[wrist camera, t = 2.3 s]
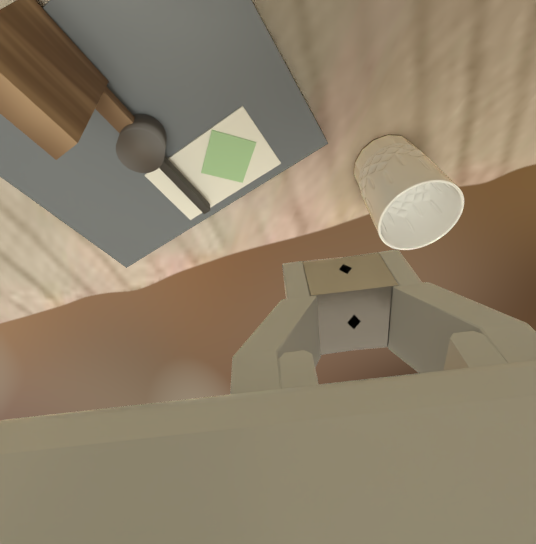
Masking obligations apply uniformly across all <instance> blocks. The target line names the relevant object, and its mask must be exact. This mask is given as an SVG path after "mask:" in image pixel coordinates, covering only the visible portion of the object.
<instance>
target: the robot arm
mask: <svg viewBox="0 0 536 544" xmlns="http://www.w3.org/2000/svg"><path fill="white" fill-rule="evenodd" d="M282 266H283V276H284V285H285V294H286V299H283V300H281V301H280V302H279V303H278V305H277V306H276V307H275V308H274V309H273V310H272V312H271V313H270V314H269V315H268V316H267V317H266V319H265V320H264V321H263V322H262V323H261V324H260V326H259V327H258V328H257V329H256V330H255V331H254V333H253V334H252V335H251V336H250V337H249V338H248V340H247V341H246V342H245V343H244V344H243V346H242V347H241V348H240V349H239V350H238V351H237V352H236V354H235V355H234V356H233V361H232V376H231V391H230V395H222V396H212V397H203V398H194V399H185V400H177V401H168V402H159V403H150V404H141V405H133V406H123V407H114V408H105V409H96V410H88V411H78V412H70V413H61V414H52V415H43V416H34V417H25V418H16V419H7V420H0V544H536V332H535V331H534V330H533V329H532V328H531V327H530V326H529V324H527V323H525V322H523V321H520V320H518V319H516V318H513V317H511V316H508V315H506V314H503V313H501V312H499V311H496V310H494V309H491V308H489V307H487V306H484V305H482V304H480V303H477V302H475V301H472V300H470V299H468V298H465V297H463V296H460V295H458V294H455V293H453V292H451V291H448V290H446V289H443V288H441V287H439V286H436V285H434V284H432V283H429V282H425V283H422V282H421V280H420V279H419V277H418V276H417V275H416V273H415V272H414V271H413V269H412V268H411V266H410V265H409V264H408V262H407V261H406V260H405V258H404V257H403V255H402V254H401V253H400V251H398V250H390V251H384V252H378V253H371V254H364V255H357V256H351V257H343V258H331V259H321V260H311V261H302V262H301V261H299V262H292V263H285V264H283V265H282ZM383 347H388V349H389V350H391V351H392V352H393V353H394V354H396V355H397V356H398V357H399V358H401V359H402V360H403V361H405V362H406V363H407V364H408V365H410V366H411V367H412V368H413V369H415V370H416V371H417V372H418V374H409V375H400V376H391V377H382V378H373V379H364V380H355V381H346V382H337V383H328V384H318V380H317V375H316V370H315V367H316V365H317V363H318V361H319V359H320V357H321V356H320V355H323V354H329V353H337V352H343V351H351V350H361V349H371V348H383Z"/></svg>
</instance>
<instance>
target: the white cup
mask: <svg viewBox="0 0 536 544" xmlns="http://www.w3.org/2000/svg"><path fill="white" fill-rule="evenodd" d="M354 176H355V178H356V180H357V183H358V185H359V187H360V191H361V195H362V197H363V200H364V203H365V205H366V207H367V209H368V212H369V214H370V216H371V218H372V220H373V223H374V225H375V227H376V230H377V232H378V234H379V236H380V238H381V240H382V241H383V242H384V243H385V244H386V245H387V246H389V247H391V248H394V249H398V250H412V249H417V248H421V247H424V246H426V245H429V244H431V243H433V242H435V241H436V240H438V239H440V238H441V237H442V236H443V235H445V234H446V233H447V232H448V231H450V230H451V228H452V227H453V226H454V225H455V224H456V222H457V221H458V219H459V218H460V216H461V214H462V211H463V208H464V196H463V193H462V191H461V190H460V188H459V187H458V186H457V185H456V184H455V183H454V182H453V181H452V180H451V179H450V178H449V177H448V176H447V175H445V174H444V173H443V172H442V171H441V170H440V169H439V168H438V167H437V166H436V165H435V164H434V163H433V162H432V161H431V160H430V159H429V158H428V157H427V156H426V155H425V154H424V153H423V152H421V151H420V150H419V149H417V148H416V147H415V146H414V145H413V144H412V143H411V142H409V141H408V140H407V139H405V138H404V137H402V136H396V135H386V136H384V137H381V138H378V139H375V140H373V141H372V142H371V143H370V144H369V145H367V146H366V147H365V148H364V149H363V150H362V151H361V153H360V155H359V156H358V158H357V160H356V162H355V169H354Z"/></svg>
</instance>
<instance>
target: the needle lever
mask: <svg viewBox="0 0 536 544" xmlns="http://www.w3.org/2000/svg"><path fill="white" fill-rule="evenodd" d="M108 82H109V81H108V80H107V79H106V78H105V77H104V76H103V75H102V74H101V72H100V71H99V70H98V69H97V68H96V67H95V66H94V65H93V64H92V62H91V61H90V60H89V59H88V58H87V57H86V56H85V55H84V54H83V53H82V51H81V50H80V49H79V48H78V47H77V46H76V45H75V44H74V43H73V42H72V40H71V39H70V38H69V37H68V36H67V35H66V34H65V33H64V32H63V31H62V29H61V28H60V27H59V26H58V25H57V24H56V23H55V22H54V21H53V19H52V18H51V17H50V16H49V15H48V14H47V13H46V12H45V11H44V10H43V8H42V7H41V6H40V5H39V4H38V3H37V2H36V1H35V0H17V1H15V2H13V3H11V4H10V5H8V6H6V7H4V8H2V9H1V10H0V114H1V115H3V116H4V117H5V118H6V119H7V120H9V121H10V122H11V123H12V124H13V125H15V126H16V127H17V128H18V129H19V130H21V131H22V132H23V133H24V134H25V135H27V136H28V137H29V138H30V139H31V140H33V141H34V142H35V143H36V144H37V145H39V146H40V147H41V148H42V149H43V150H45V151H46V152H47V153H48V154H49V155H51V156H52V157H53V158H54V159H55V160H57V159H58V158H60V157H61V156H62V155H63V154H65V153H66V152H67V151H68V150H70V149H71V148H72V147H73V146H75V145H76V144H77V143H78V142H79V140H80V138H81V136H82V134H83V132H84V130H85V128H86V126H87V124H88V122H89V120H90V118H91V116H92V114H93V112H94V110H95V109H96V110H97V111H98V112H99V113H100V114H101V115H102V116H103V117H104V118H105V119H106V120H107V121H108V122H109V123H110V124H111V125H112V126H113V127H114V128H115V129H116V130H117V131H118V132H119V133H120V134H119V137H118V140H117V143H116V153H117V156H118V158H119V160H120V161H121V162H122V164H123V165H125V166H126V167H127V168H128V169H130V170H132V171H135V172H138V173H150V172H153V171H155V170H157V169H158V168H160V169H161V171H162V172H163V173H164V174H165V175H166V176H167V177H168V178H169V179H170V180H171V181H172V182H173V183H174V184H175V185H176V186H177V187H178V188H179V189H180V190H181V191H182V192H183V193H184V194H185V195H186V196H187V197H188V198H189V199H190V200H191V201H192V202H193V203H194V204H195V205H196V206H197V207H198V208H199V209H200V211H201V212H202V213H203V214H206V213H207V212H209V211H210V203H209V202H208V201H207V200H206V199H205V198H204V197H203V196H202V195H201V194H200V193H199V192H198V191H197V189H196V188H195V187H194V186H193V185H192V184H191V183H190V182H189V181H188V180H187V179H186V178H185V177H184V176H183V174H182V173H181V172H180V171H179V170H178V169H177V168H176V167H175V166H174V165H173V164H172V163H171V162H170V160H169V159H168V158H167V157H166V156H165V149H166V142H167V135H166V131H165V129H164V127H163V126H162V125H161V123H160V122H159V121H157V120H156V119H155V118H153V117H151V116H148V115H145V114H136V115H132V114H131V112H130V111H129V110H128V109H127V108H126V107H125V106H124V105H123V104H122V103H121V102H120V100H119V99H118V98H117V97H116V96H115V95H114V94H113V93H112V92H111V91H110V90H109V89H108V87H107V84H108Z"/></svg>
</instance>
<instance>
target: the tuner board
mask: <svg viewBox="0 0 536 544" xmlns="http://www.w3.org/2000/svg"><path fill="white" fill-rule="evenodd" d="M43 10H44V11H45V12H46V13H47V14H48V15H49V16H50V17H51V18H52V19H53V21H54V22H55V23H56V24H57V25H58V26H59V27H60V28H61V29H62V31H63V32H64V33H65V34H66V35H67V36H68V37H69V38H70V39H71V40H72V42H73V43H74V44H75V45H76V46H77V47H78V48H79V49H80V50H81V51H82V53H83V54H84V55H85V56H86V57H87V58H88V59H89V60H90V61H91V62H92V64H93V65H94V66H95V67H96V68H97V69H98V70H99V71H100V72H101V74H102V75H103V76H104V77H105V78H106V79H107V80H108V81H109V82H108V84H107V87H108V89H109V90H110V91H111V92H112V93H113V94H114V95H115V96H116V97H117V98H118V99H119V100H120V102H121V103H122V104H123V105H124V106H125V107H126V108H127V109H128V110H129V111H130V112H131V114H132V115H136V114H145V115H148V116H151V117H153V118H155V119H156V120H157V121H159V122H160V123H161V125H162V126H163V127H164V129H165V131H166V135H167V142H166V149H165V156H166V157H167V158H168V159H169V160H170V162H171V163H172V164H173V165H174V166H175V167H176V168H177V169H178V170H179V171H180V172H181V173H182V174H183V176H184V177H185V178H186V179H187V180H188V181H189V182H190V183H191V184H192V185H193V186H194V187H195V188H196V189H197V191H198V192H199V193H200V194H201V195H202V196H203V197H204V198H205V199H206V200H207V201H208V202H209V203H210V211H209V212H207V213H206V214H203V213H202V212H201V211H200V209H199V208H198V207H197V206H196V205H195V204H194V203H193V202H192V201H191V200H190V199H189V198H188V197H187V196H186V195H185V194H184V193H183V192H182V191H181V190H180V189H179V188H178V187H177V186H176V185H175V184H174V183H173V182H172V181H171V180H170V179H169V178H168V177H167V176H166V175H165V174H164V173H163V172H162V171H161V169H160V168H158V169H157V170H155V171H153V172H150V173H138V172H135V171H132V170H130V169H128V168H127V167H126V166H125V165H123V164H122V162H121V161H120V160H119V158H118V156H117V153H116V143H117V140H118V137H119V134H120V133H119V132H118V131H117V130H116V129H115V128H114V127H113V126H112V125H111V124H110V123H109V122H108V121H107V120H106V119H105V118H104V117H103V116H102V115H101V114H100V113H99V112H98V111H97V110H96V109H95V110H94V112H93V114H92V116H91V118H90V120H89V122H88V124H87V126H86V128H85V130H84V132H83V134H82V136H81V138H80V140H79V142H78V143H77V144H76V145H75V146H73V147H72V148H71V149H70V150H68V151H67V152H66V153H65V154H63V155H62V156H61V157H60V158H58V159H57V160H55V159H54V158H53V157H52V156H51V155H49V154H48V153H47V152H46V151H45V150H43V149H42V148H41V147H40V146H39V145H37V144H36V143H35V142H34V141H33V140H31V139H30V138H29V137H28V136H27V135H25V134H24V133H23V132H22V131H21V130H19V129H18V128H17V127H16V126H15V125H13V124H12V123H11V122H10V121H9V120H7V119H6V118H5V117H4V116H3V115H1V114H0V177H2V178H3V179H4V180H6V181H7V182H9V183H10V184H11V185H13V186H14V187H15V188H17V189H18V190H20V191H21V192H22V193H24V194H25V195H27V196H28V197H29V198H31V199H32V200H33V201H35V202H36V203H38V204H39V205H40V206H42V207H43V208H45V209H46V210H47V211H49V212H50V213H51V214H53V215H54V216H56V217H57V218H58V219H60V220H61V221H63V222H64V223H65V224H67V225H68V226H70V227H71V228H72V229H74V230H75V231H76V232H78V233H79V234H81V235H82V236H83V237H85V238H86V239H88V240H89V241H90V242H92V243H93V244H94V245H96V246H97V247H99V248H100V249H101V250H103V251H104V252H106V253H107V254H108V255H110V256H111V257H112V258H114V259H115V260H117V261H118V262H119V263H121V264H122V265H124V266H125V267H126V268H127V267H128V266H130V265H132V264H133V263H135V262H137V261H138V260H140V259H141V258H143V257H145V256H146V255H148V254H150V253H151V252H153V251H154V250H156V249H158V248H159V247H161V246H162V245H164V244H166V243H167V242H169V241H171V240H172V239H174V238H175V237H177V236H179V235H180V234H182V233H184V232H185V231H187V230H188V229H190V228H192V227H193V226H195V225H197V224H198V223H200V222H201V221H203V220H205V219H206V218H208V217H210V216H211V215H213V214H214V213H216V212H218V211H219V210H221V209H223V208H224V207H226V206H227V205H229V204H231V203H232V202H234V201H236V200H237V199H239V198H240V197H242V196H244V195H245V194H247V193H248V192H250V191H252V190H253V189H255V188H257V187H258V186H260V185H261V184H263V183H265V182H266V181H268V180H270V179H271V178H273V177H274V176H276V175H278V174H279V173H281V172H283V171H284V170H286V169H287V168H289V167H291V166H292V165H294V164H296V163H297V162H299V161H300V160H302V159H304V158H305V157H307V156H309V155H310V154H312V153H313V152H315V151H317V150H318V149H320V148H322V147H323V146H325V145H326V144H328V142H327V140H326V139H325V137H324V135H323V133H322V131H321V129H320V127H319V126H318V124H317V122H316V120H315V118H314V116H313V114H312V112H311V111H310V109H309V107H308V105H307V103H306V101H305V99H304V98H303V96H302V94H301V92H300V90H299V88H298V86H297V84H296V83H295V81H294V79H293V77H292V75H291V73H290V71H289V70H288V68H287V66H286V64H285V62H284V60H283V58H282V56H281V55H280V53H279V51H278V49H277V47H276V45H275V43H274V42H273V40H272V38H271V36H270V34H269V32H268V30H267V28H266V27H265V25H264V23H263V21H262V19H261V17H260V15H259V14H258V12H257V10H256V8H255V6H254V4H253V2H252V0H50V1H49V2H48V3H47V4H46V5H45V6H44V7H43Z"/></svg>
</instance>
